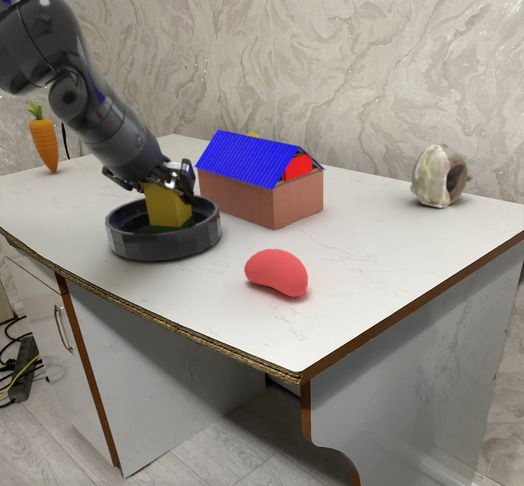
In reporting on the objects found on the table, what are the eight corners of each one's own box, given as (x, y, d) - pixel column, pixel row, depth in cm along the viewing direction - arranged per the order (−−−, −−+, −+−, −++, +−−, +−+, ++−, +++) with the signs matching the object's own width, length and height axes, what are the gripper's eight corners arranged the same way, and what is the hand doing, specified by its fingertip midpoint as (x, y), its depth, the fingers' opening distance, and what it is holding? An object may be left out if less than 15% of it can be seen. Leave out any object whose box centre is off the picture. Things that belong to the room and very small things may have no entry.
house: (248, 186, 103) (243, 122, 97) (326, 209, 91) (326, 137, 84) (199, 204, 97) (190, 136, 90) (274, 231, 84) (270, 155, 78)
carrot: (66, 174, 119) (47, 100, 110) (43, 177, 117) (21, 103, 109) (64, 168, 123) (45, 97, 114) (42, 172, 121) (21, 100, 113)
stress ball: (284, 278, 74) (259, 241, 71) (325, 277, 66) (298, 236, 64) (259, 303, 72) (233, 266, 70) (298, 304, 65) (270, 263, 62)
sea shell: (412, 219, 91) (396, 165, 86) (423, 195, 96) (409, 142, 91) (470, 209, 86) (457, 150, 80) (478, 184, 91) (466, 127, 86)
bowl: (110, 271, 76) (103, 242, 73) (112, 228, 90) (106, 202, 87) (229, 254, 78) (226, 224, 76) (213, 214, 92) (210, 188, 90)
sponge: (180, 234, 83) (172, 183, 78) (151, 232, 84) (142, 181, 80) (193, 222, 87) (186, 172, 82) (165, 220, 88) (157, 171, 84)
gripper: (174, 111, 67) (220, 178, 83) (77, 111, 71) (138, 174, 87) (162, 167, 66) (211, 223, 82) (64, 163, 70) (129, 218, 86)
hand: (173, 198), depth 85 cm, fingers closed on sponge, 5 cm apart
